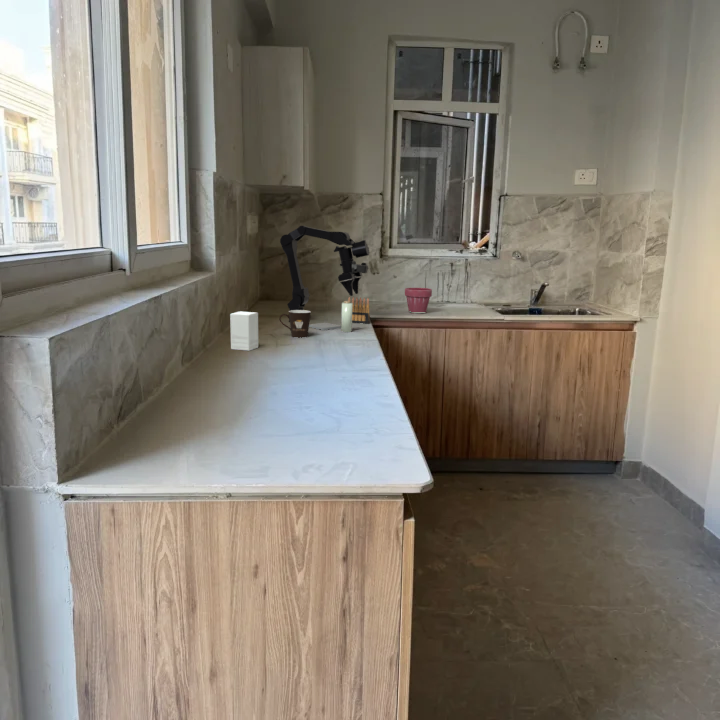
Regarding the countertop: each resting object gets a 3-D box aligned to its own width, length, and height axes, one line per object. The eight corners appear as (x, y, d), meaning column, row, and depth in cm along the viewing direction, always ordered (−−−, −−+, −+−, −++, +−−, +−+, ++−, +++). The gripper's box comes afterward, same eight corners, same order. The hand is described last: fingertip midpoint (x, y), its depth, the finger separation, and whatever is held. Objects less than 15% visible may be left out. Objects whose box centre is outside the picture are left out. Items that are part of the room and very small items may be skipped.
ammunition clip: (369, 323, 284) (370, 297, 281) (368, 324, 282) (369, 298, 280) (347, 322, 286) (347, 296, 284) (346, 322, 284) (346, 296, 282)
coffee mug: (314, 336, 246) (314, 311, 244) (303, 339, 238) (303, 313, 236) (289, 333, 250) (289, 308, 248) (277, 336, 243) (278, 311, 241)
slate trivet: (306, 326, 268) (306, 324, 267) (325, 324, 275) (325, 322, 275) (323, 330, 260) (323, 328, 260) (342, 328, 268) (342, 325, 267)
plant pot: (399, 312, 325) (400, 288, 322) (411, 310, 337) (412, 286, 334) (423, 315, 318) (424, 290, 315) (435, 312, 329) (436, 288, 327)
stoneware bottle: (341, 332, 257) (341, 301, 255) (341, 330, 262) (341, 300, 259) (351, 332, 257) (352, 302, 255) (351, 330, 262) (352, 300, 259)
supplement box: (259, 347, 219) (259, 312, 216) (248, 351, 212) (248, 314, 209) (240, 345, 221) (240, 310, 218) (229, 349, 214) (229, 313, 211)
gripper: (359, 257, 261) (366, 293, 263) (369, 255, 278) (376, 289, 281) (334, 262, 264) (342, 298, 266) (346, 260, 281) (353, 294, 284)
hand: (354, 294), depth 274 cm, fingers open, 9 cm apart
